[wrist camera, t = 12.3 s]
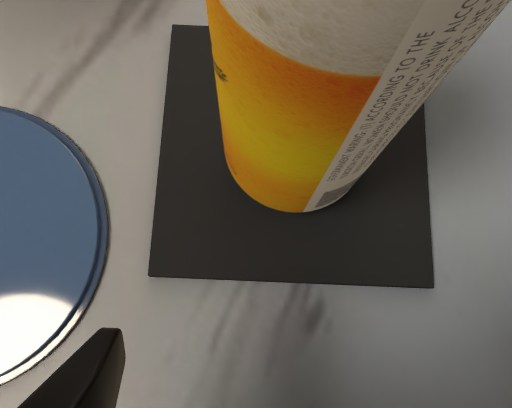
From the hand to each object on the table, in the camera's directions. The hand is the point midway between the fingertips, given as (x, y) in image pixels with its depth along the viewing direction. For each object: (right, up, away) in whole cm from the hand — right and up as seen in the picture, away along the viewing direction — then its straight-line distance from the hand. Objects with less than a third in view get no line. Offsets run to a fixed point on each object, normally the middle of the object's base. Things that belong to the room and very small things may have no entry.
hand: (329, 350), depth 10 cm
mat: (0, +6, +11) cm, 12 cm away
